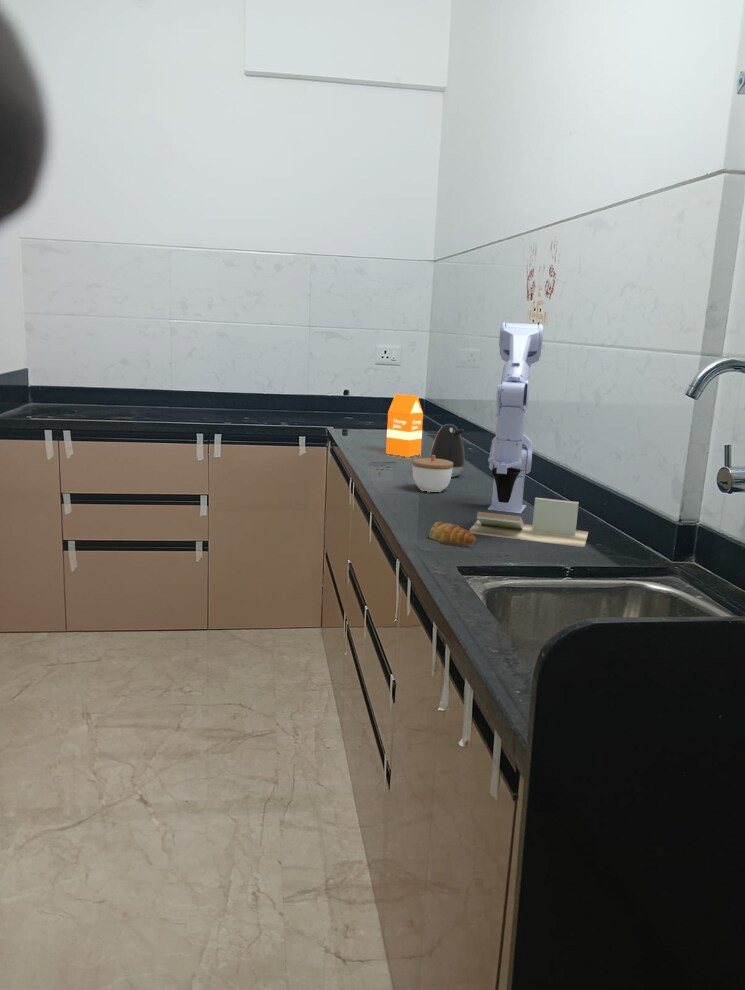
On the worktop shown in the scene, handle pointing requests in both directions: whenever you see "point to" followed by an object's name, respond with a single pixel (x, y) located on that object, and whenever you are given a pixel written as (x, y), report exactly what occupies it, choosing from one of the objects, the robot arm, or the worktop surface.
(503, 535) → the board
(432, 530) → the pastry
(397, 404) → the orange juice
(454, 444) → the penguin figurine
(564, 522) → the tile
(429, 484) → the lidded jar
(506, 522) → the tile
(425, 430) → the worktop surface
